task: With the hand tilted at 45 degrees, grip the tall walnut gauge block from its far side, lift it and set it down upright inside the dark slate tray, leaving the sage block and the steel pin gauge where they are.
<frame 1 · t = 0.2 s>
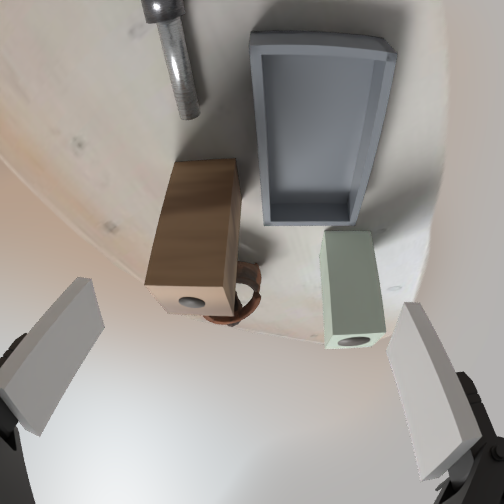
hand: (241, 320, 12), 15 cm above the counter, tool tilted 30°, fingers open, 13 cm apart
pin gauge: (176, 39, 15), on the counter
walnut block: (209, 181, 26), on the counter
sage block: (343, 244, 34), on the counter
slate tray: (314, 132, 22), on the counter
pottery mug: (223, 268, 40), on the counter
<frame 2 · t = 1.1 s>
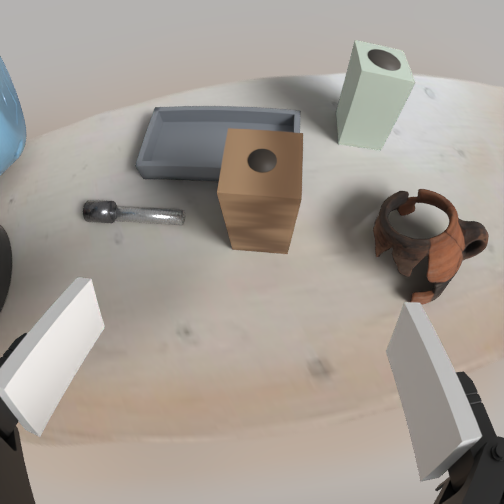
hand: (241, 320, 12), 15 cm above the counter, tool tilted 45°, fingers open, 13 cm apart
pin gauge: (133, 217, 30), on the counter
walnut block: (262, 226, 30), on the counter
sage block: (358, 130, 33), on the counter
slate tray: (221, 149, 32), on the counter
pottery mug: (418, 255, 29), on the counter
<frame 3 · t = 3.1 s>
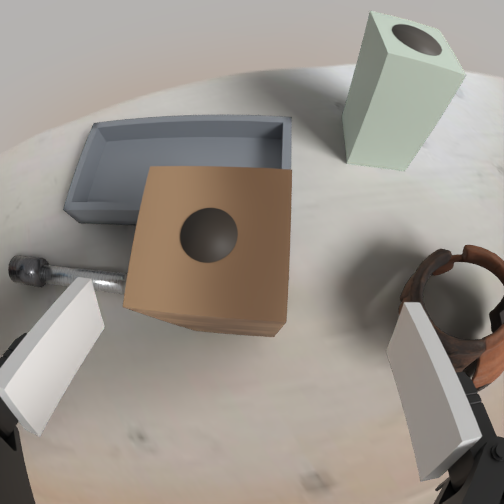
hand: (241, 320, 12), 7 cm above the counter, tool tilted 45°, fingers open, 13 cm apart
pin gauge: (67, 278, 21), on the counter
walnut block: (237, 295, 20), on the counter
sage block: (373, 142, 24), on the counter
slate tray: (181, 177, 23), on the counter
pottery mug: (453, 329, 19), on the counter
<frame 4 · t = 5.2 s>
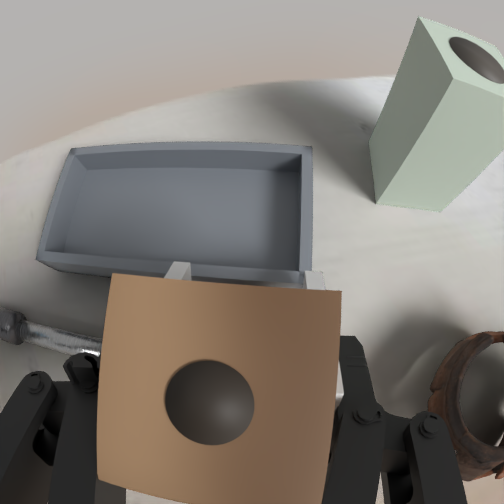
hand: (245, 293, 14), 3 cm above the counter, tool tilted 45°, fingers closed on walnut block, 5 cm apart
pin gauge: (47, 336, 17), on the counter
walnut block: (243, 371, 16), on the counter, touching gripper
sage block: (405, 175, 20), on the counter
slate tray: (174, 219, 19), on the counter
pottery mug: (479, 403, 15), on the counter
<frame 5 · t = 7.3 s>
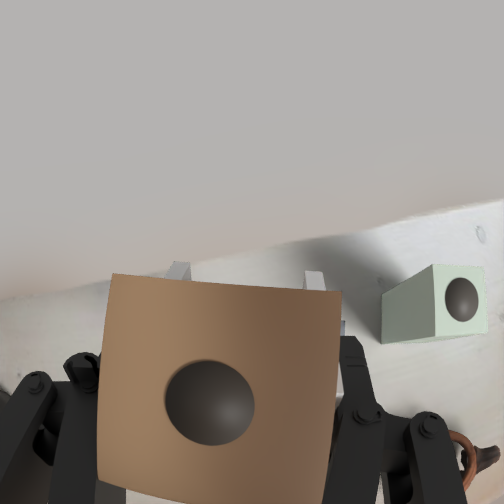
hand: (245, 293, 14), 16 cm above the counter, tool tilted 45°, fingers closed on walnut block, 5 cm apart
walnut block: (243, 371, 16), point 13 cm above the counter, touching gripper
sage block: (403, 319, 29), on the counter
pottery mug: (434, 461, 24), on the counter
when the fingers open (5 cm above the counter, at t = 9.6 s): walnut block drops 1 cm, resting on slate tray.
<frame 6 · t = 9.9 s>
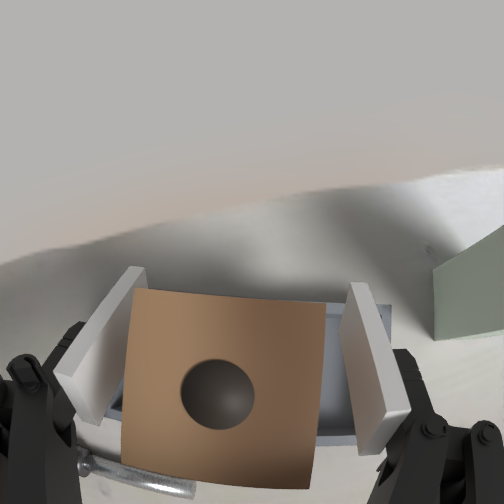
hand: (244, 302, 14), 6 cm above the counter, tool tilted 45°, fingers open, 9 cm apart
pin gauge: (118, 467, 16), on the counter
walnut block: (244, 370, 18), point 1 cm above the counter, touching slate tray
sage block: (461, 304, 19), on the counter
slate tray: (245, 369, 18), on the counter
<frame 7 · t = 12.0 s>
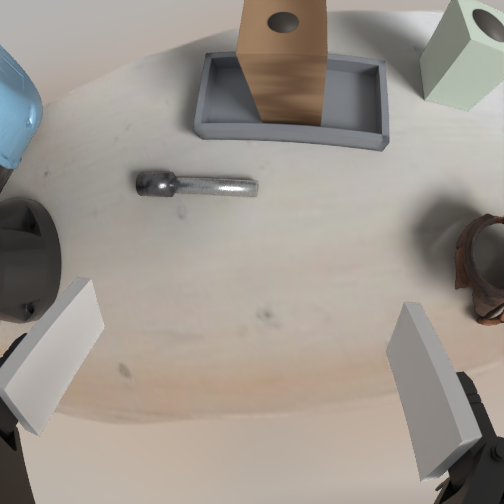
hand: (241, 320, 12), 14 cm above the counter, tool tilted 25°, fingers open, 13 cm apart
pin gauge: (196, 187, 27), on the counter
walnut block: (293, 99, 25), point 1 cm above the counter, touching slate tray
sage block: (444, 84, 23), on the counter
slate tray: (293, 101, 26), on the counter
pottery mug: (491, 270, 23), on the counter
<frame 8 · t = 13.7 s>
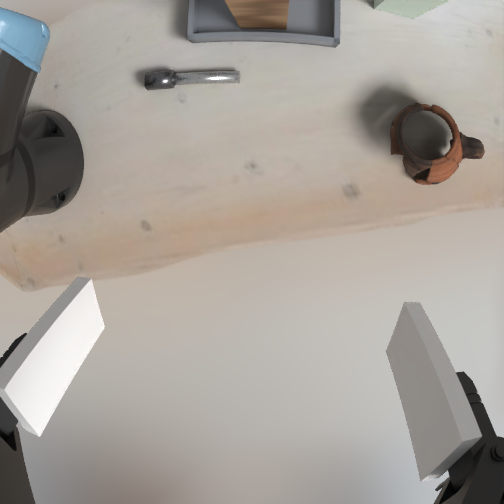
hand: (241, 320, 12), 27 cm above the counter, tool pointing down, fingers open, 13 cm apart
pin gauge: (192, 78, 32), on the counter
walnut block: (264, 9, 27), point 1 cm above the counter, touching slate tray
slate tray: (264, 10, 27), on the counter
pottery mug: (426, 143, 33), on the counter
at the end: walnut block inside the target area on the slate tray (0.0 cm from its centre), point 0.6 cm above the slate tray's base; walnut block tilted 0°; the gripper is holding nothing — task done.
